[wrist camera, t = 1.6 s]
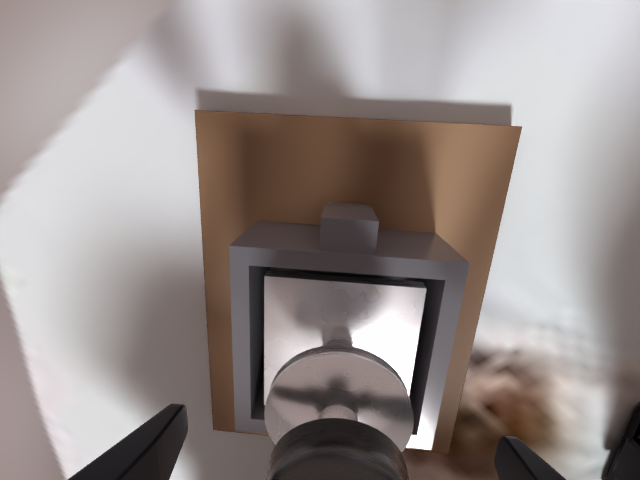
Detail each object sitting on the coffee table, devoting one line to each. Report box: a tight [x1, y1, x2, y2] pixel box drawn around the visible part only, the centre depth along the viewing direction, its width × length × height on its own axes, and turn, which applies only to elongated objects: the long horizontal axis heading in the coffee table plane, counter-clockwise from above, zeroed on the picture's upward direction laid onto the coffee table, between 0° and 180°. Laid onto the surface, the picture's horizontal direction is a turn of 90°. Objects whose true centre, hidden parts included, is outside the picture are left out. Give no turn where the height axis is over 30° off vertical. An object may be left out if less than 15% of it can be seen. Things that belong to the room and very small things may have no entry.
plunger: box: [264, 270, 427, 480], centre depth 10 cm, size 6×6×7 cm
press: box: [229, 202, 470, 450], centre depth 14 cm, size 8×10×4 cm
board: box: [195, 110, 522, 454], centre depth 16 cm, size 14×18×1 cm
